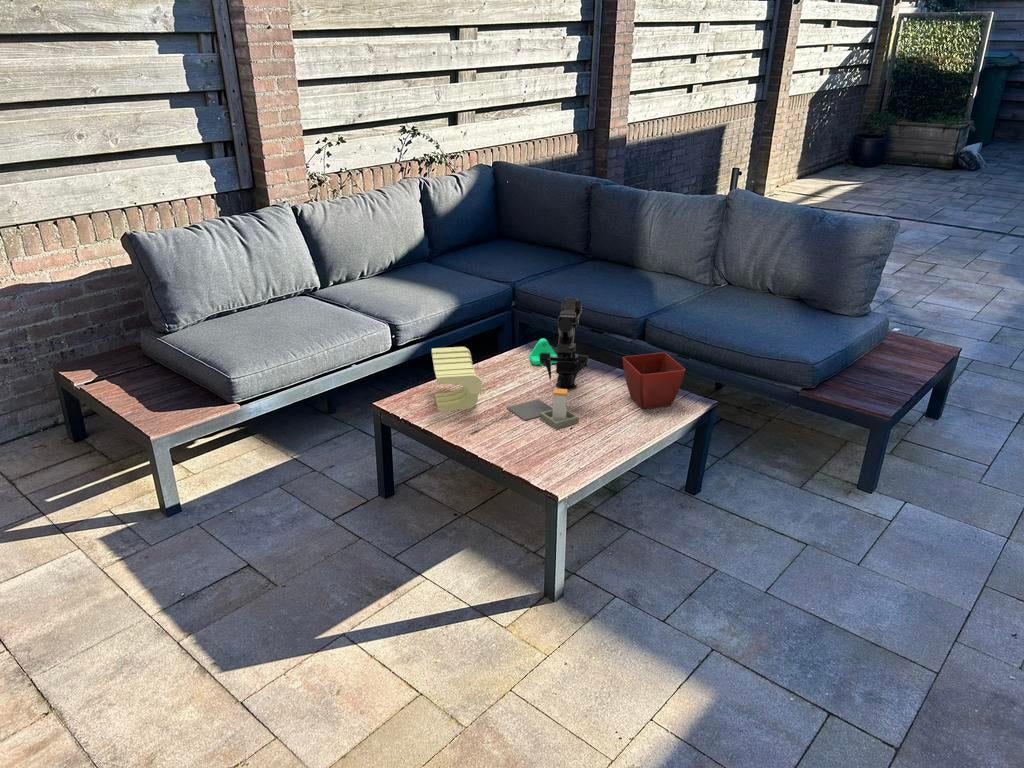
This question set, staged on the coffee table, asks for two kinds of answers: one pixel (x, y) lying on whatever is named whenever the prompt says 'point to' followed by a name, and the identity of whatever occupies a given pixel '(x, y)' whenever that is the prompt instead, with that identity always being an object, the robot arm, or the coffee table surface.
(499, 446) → the coffee table surface
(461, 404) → the slatted curved stool
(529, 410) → the rubber mat
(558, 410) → the block
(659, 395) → the plant pot
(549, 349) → the camera mount
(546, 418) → the case bay
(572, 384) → the robot arm
